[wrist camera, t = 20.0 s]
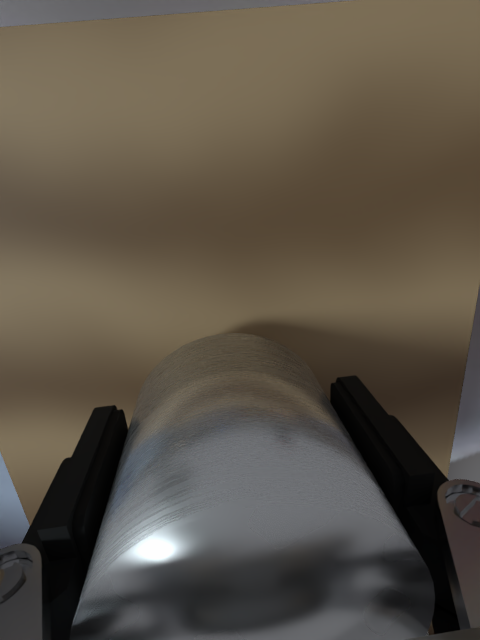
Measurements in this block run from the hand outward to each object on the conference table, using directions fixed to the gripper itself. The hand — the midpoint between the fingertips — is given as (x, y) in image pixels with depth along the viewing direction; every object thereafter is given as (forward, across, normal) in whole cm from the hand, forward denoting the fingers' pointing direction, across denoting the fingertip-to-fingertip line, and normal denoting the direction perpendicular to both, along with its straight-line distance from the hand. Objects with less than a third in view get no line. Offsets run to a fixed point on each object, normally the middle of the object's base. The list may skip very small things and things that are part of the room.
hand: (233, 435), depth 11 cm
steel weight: (+1, 0, 0) cm, 1 cm away
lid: (+3, 0, 0) cm, 3 cm away
